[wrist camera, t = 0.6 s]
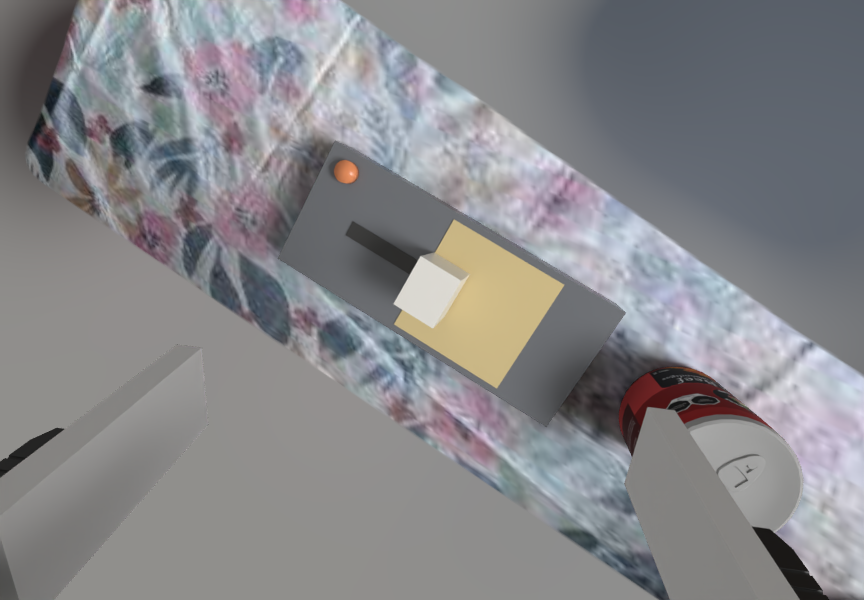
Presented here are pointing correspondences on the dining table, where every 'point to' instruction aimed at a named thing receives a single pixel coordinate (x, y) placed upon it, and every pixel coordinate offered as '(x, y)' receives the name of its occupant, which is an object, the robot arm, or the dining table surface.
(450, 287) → the knob
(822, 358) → the dining table surface
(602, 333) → the breaker housing
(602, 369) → the dining table surface
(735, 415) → the canned food
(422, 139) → the dining table surface
